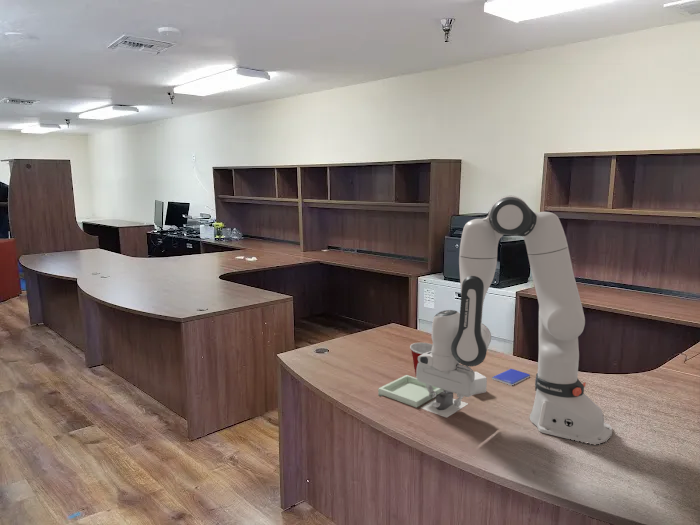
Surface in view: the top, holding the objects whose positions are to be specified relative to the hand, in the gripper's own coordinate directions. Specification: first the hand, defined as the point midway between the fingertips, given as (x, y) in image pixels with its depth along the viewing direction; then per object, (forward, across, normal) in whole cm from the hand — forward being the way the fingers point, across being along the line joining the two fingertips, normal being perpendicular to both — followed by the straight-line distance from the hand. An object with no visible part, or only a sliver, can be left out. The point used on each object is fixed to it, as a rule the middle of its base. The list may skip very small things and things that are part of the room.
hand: (444, 401), depth 161 cm
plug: (+2, 0, 0) cm, 2 cm away
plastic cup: (+2, +19, -16) cm, 25 cm away
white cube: (+2, -1, -17) cm, 17 cm away
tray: (+2, +14, -1) cm, 14 cm away
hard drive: (+3, -5, -37) cm, 37 cm away
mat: (+2, 0, 0) cm, 2 cm away
